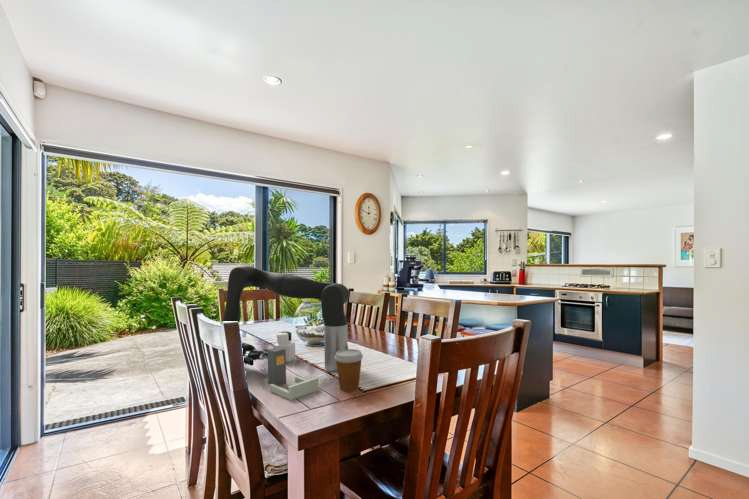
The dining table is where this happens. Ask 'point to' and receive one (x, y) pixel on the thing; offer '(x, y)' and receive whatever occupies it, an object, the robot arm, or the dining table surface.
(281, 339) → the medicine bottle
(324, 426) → the dining table surface
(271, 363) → the tall gray pillar block
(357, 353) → the disposable coffee cup
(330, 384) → the dining table surface
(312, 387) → the mount
